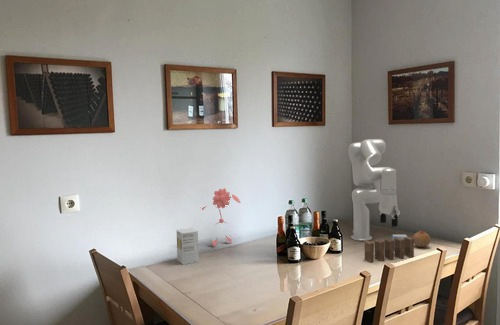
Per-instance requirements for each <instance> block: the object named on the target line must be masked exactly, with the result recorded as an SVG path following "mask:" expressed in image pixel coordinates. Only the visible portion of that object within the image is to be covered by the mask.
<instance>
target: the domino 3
mask: <svg viewBox="0 0 500 325" xmlns="http://www.w3.org/2000/svg"><path fill="white" fill-rule="evenodd" d="M383 242H384V259H386V260H389V261H394V260H395V256H394V241H393V240H392V238H391V239H390V238H384V240H383Z"/></svg>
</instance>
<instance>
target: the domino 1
mask: <svg viewBox="0 0 500 325" xmlns="http://www.w3.org/2000/svg"><path fill="white" fill-rule="evenodd" d="M364 261H366V262H368V263H369V264H370V263H375V242H373V241H371V240H368V241H364Z"/></svg>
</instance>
